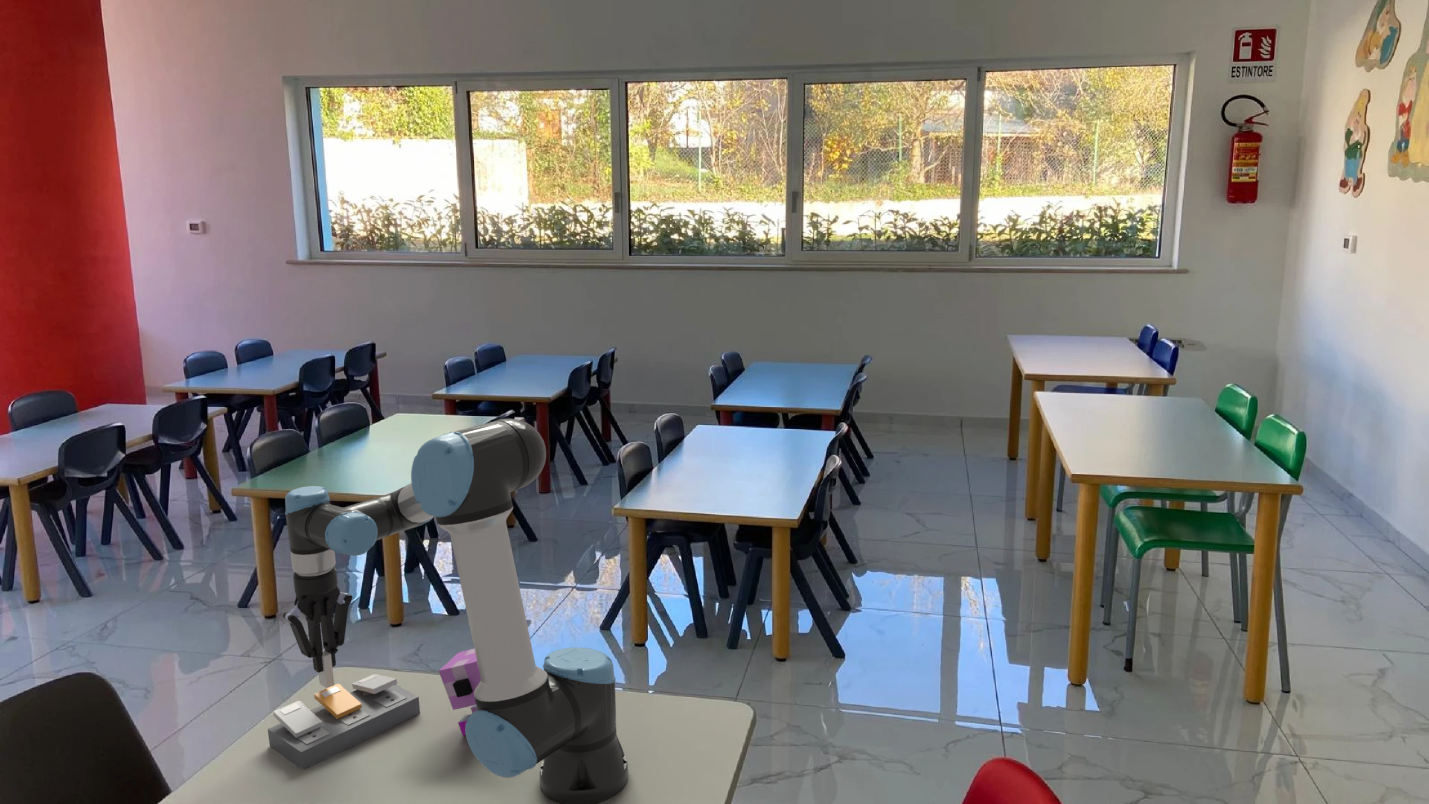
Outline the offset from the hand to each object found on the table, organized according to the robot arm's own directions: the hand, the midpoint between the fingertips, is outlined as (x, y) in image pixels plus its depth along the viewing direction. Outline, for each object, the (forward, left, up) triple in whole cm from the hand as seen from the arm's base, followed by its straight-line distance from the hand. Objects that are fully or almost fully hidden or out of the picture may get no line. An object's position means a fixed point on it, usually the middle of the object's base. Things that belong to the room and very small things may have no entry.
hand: (326, 684), depth 188 cm
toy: (-25, -17, -8) cm, 31 cm away
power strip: (-6, 0, -7) cm, 9 cm away
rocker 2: (-3, 0, -3) cm, 5 cm away
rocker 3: (-3, -8, -3) cm, 9 cm away
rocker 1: (-3, +8, -3) cm, 9 cm away
